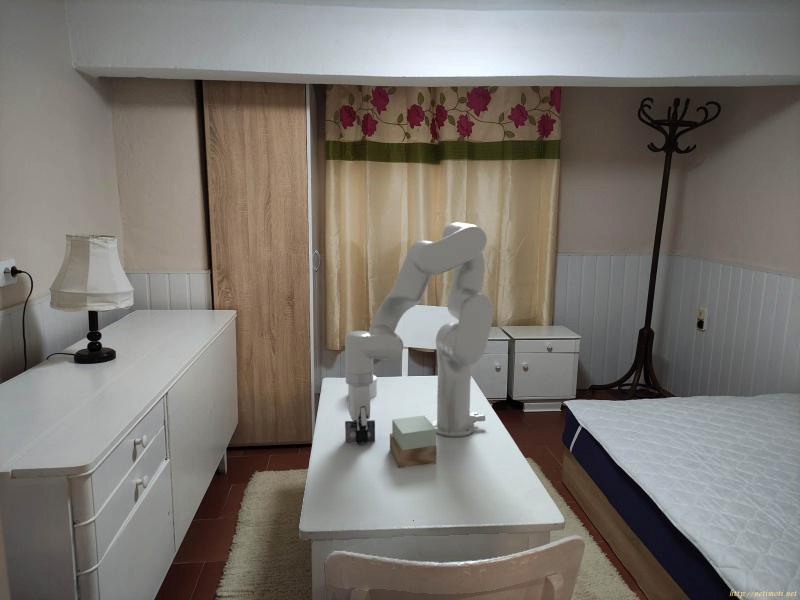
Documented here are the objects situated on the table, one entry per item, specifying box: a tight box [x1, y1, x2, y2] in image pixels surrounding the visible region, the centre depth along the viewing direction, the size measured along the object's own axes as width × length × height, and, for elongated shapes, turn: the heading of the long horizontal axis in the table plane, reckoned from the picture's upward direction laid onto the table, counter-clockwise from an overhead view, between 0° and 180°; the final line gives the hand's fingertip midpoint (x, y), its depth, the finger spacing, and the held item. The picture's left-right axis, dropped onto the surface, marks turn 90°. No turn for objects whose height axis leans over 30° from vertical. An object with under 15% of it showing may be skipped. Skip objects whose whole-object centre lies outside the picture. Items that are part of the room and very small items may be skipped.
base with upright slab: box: [370, 374, 378, 399], centre depth 185 cm, size 9×9×12 cm
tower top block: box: [391, 415, 437, 450], centre depth 141 cm, size 9×9×4 cm
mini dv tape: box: [344, 419, 376, 444], centre depth 151 cm, size 8×2×6 cm, turn 94°
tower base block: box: [389, 432, 437, 469], centre depth 142 cm, size 10×10×5 cm
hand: (360, 437), depth 151 cm, fingers open, 4 cm apart
